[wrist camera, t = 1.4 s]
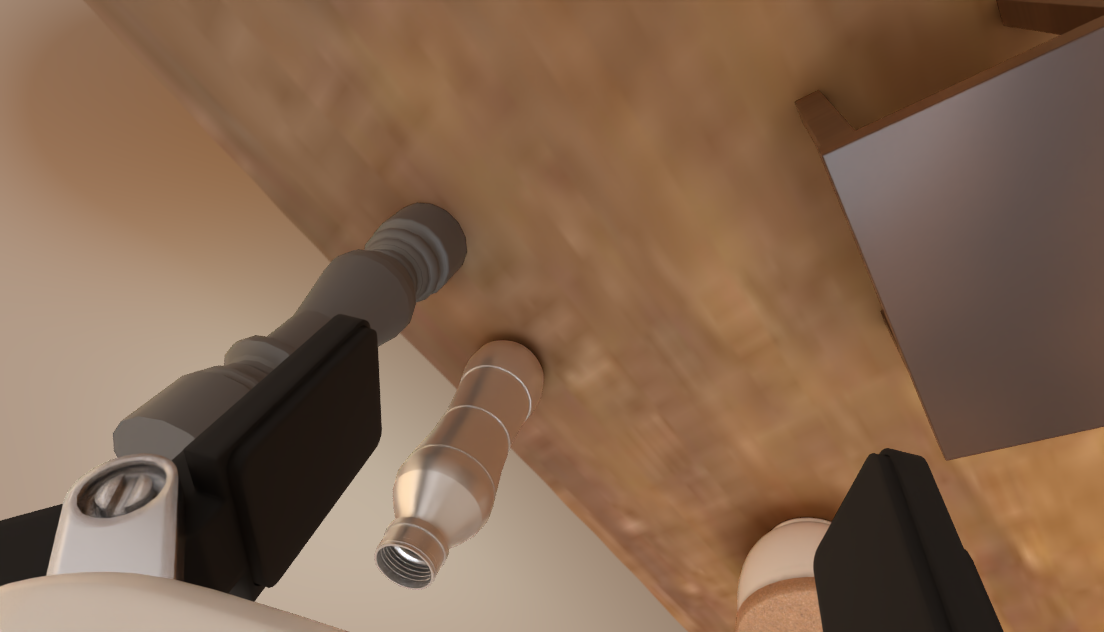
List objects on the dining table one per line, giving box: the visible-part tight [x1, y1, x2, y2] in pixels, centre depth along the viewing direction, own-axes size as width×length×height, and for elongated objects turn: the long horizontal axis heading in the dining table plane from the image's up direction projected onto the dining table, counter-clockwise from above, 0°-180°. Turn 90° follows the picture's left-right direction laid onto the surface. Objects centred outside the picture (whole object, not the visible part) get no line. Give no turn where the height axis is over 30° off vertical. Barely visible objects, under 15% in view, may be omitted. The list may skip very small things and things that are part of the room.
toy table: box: [795, 0, 1104, 461], centre depth 29 cm, size 12×17×13 cm
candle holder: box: [113, 203, 467, 460], centre depth 35 cm, size 6×6×25 cm
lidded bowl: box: [736, 518, 831, 632], centre depth 46 cm, size 13×13×11 cm
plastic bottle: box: [374, 340, 544, 590], centre depth 40 cm, size 6×7×20 cm
